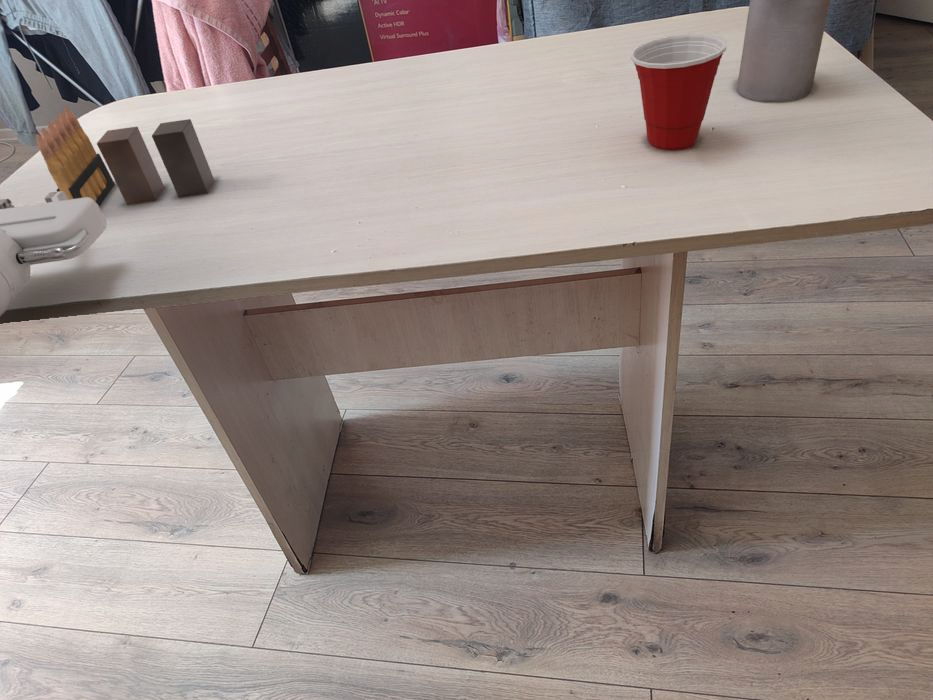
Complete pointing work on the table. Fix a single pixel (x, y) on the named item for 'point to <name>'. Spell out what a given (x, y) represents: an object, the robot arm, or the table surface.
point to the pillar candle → (781, 48)
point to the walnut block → (131, 165)
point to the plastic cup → (676, 86)
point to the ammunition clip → (74, 160)
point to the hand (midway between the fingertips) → (33, 201)
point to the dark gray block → (183, 158)
